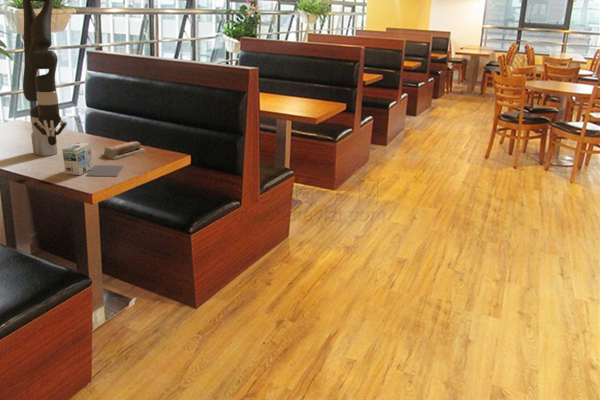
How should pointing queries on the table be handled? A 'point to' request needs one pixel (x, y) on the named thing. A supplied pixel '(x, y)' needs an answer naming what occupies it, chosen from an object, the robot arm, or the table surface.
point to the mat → (105, 170)
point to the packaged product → (123, 150)
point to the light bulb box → (77, 158)
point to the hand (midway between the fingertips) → (52, 144)
